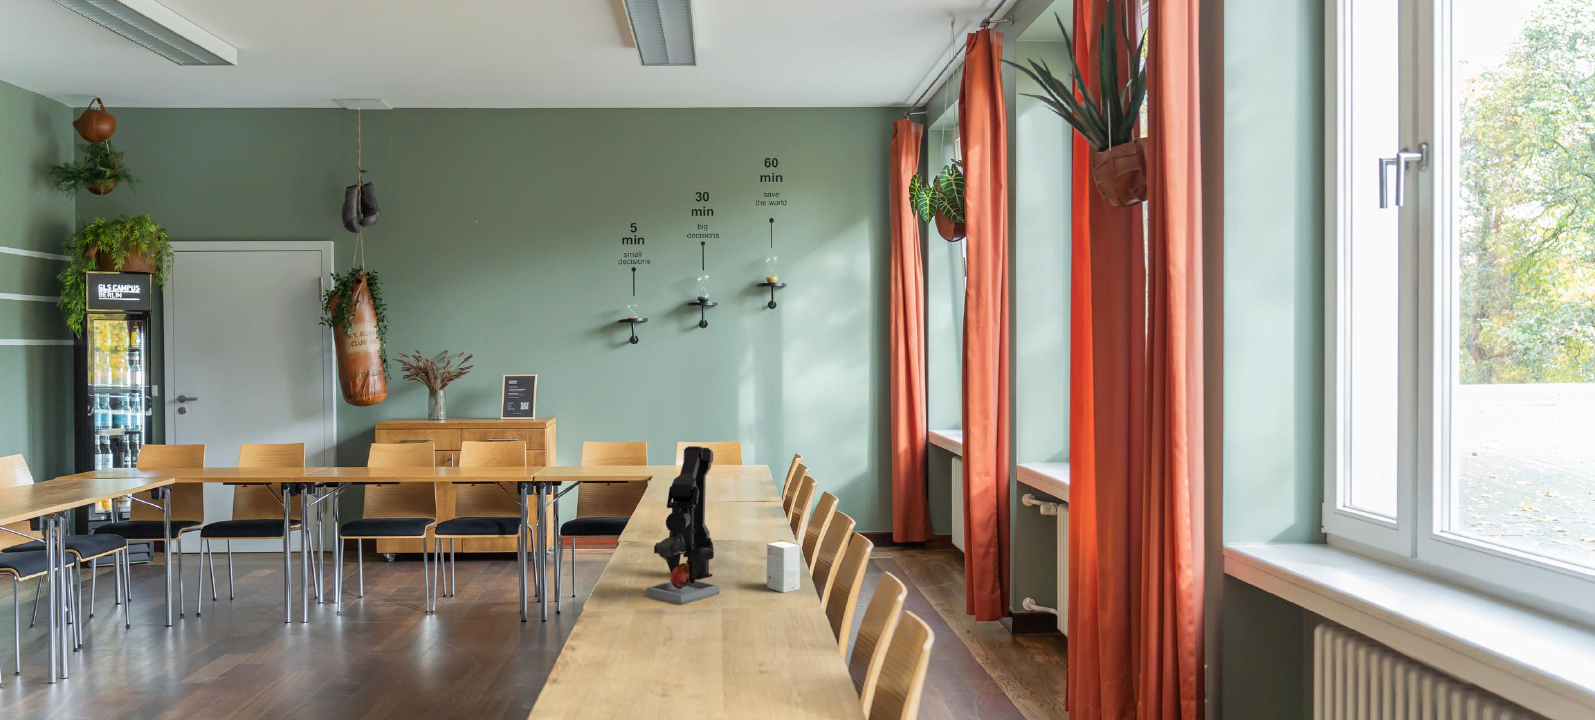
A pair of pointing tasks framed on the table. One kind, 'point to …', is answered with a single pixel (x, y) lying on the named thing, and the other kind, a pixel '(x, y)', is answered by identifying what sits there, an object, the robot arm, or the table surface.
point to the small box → (783, 566)
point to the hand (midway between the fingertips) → (683, 581)
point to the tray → (683, 592)
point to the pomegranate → (680, 576)
